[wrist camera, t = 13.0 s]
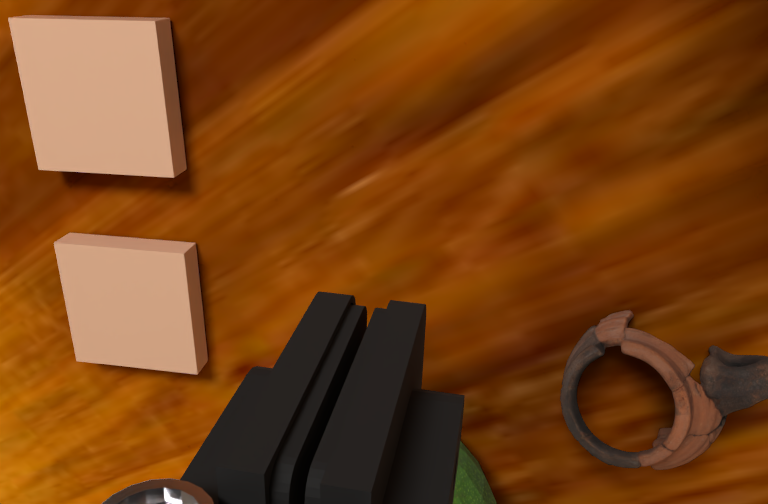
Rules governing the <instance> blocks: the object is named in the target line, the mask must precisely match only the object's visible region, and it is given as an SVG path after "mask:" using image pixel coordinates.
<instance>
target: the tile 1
mask: <svg viewBox="0 0 768 504" xmlns="http://www.w3.org/2000/svg"><path fill="white" fill-rule="evenodd" d="M8 19H9V24H10V29H11V34H12V39H13V44H14V49H15V54H16V59H17V64H18V69H19V74H20V79H21V84H22V89H23V94H24V99H25V104H26V109H27V114H28V119H29V124H30V129H31V134H32V139H33V144H34V149H35V154H36V159H37V164H38V169H39V170H52V171H69V172H86V173H103V174H119V175H136V176H153V177H170V178H174V177H176V176H177V175H179V174H180V173H182V172H183V171H185V170H186V169H187V166H186V157H185V148H184V139H183V130H182V122H181V113H180V104H179V95H178V86H177V77H176V69H175V60H174V51H173V42H172V33H171V24H170V18H141V17H93V16H45V15H26V16H18V17H11V18H8Z"/></svg>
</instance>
